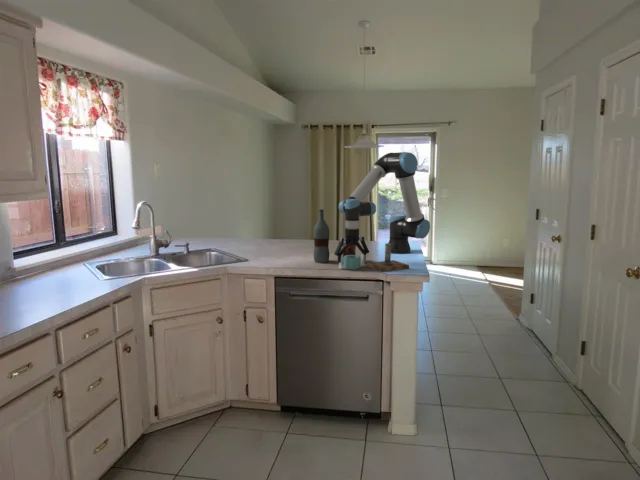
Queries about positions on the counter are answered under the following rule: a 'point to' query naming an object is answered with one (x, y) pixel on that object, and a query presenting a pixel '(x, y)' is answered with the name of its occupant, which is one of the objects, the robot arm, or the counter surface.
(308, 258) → the counter surface
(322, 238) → the bottle
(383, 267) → the post block
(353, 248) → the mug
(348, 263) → the ring
